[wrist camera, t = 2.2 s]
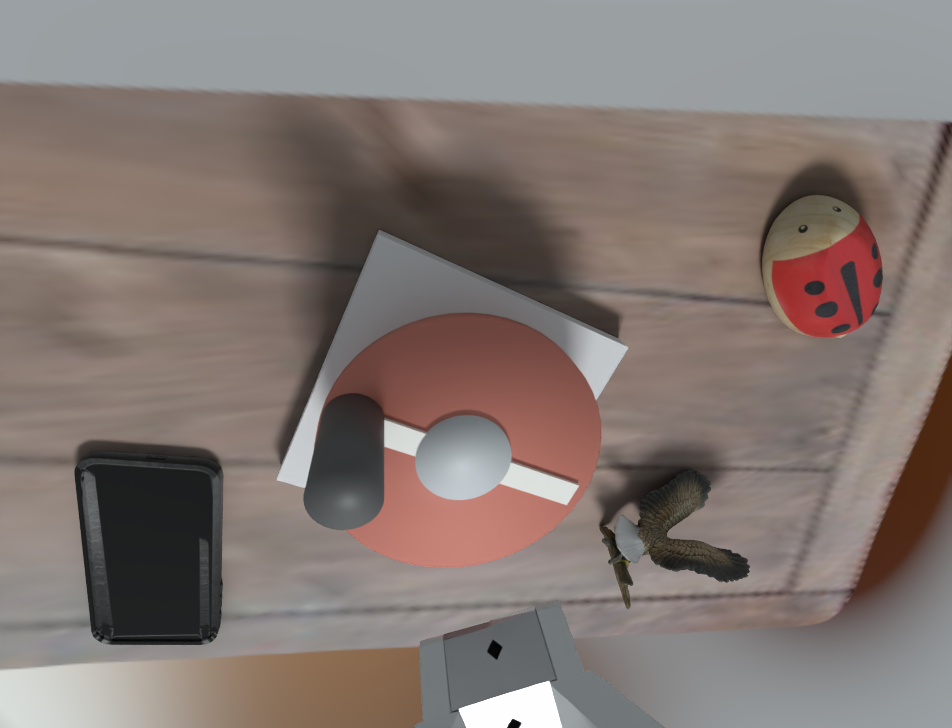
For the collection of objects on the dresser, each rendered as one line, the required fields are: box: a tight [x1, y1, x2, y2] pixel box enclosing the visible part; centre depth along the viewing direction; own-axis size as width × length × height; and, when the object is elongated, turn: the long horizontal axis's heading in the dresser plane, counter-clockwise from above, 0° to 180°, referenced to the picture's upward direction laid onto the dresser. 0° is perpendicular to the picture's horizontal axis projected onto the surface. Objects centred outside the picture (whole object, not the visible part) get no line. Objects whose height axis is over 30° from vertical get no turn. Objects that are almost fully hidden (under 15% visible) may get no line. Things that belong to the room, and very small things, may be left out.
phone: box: [75, 451, 223, 645], centre depth 34 cm, size 8×1×15 cm
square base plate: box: [276, 230, 629, 488], centre depth 31 cm, size 16×16×4 cm
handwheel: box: [304, 312, 601, 568], centre depth 25 cm, size 15×15×7 cm
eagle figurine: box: [600, 470, 750, 609], centre depth 37 cm, size 8×7×9 cm
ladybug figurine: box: [762, 195, 883, 338], centre depth 32 cm, size 7×10×4 cm
